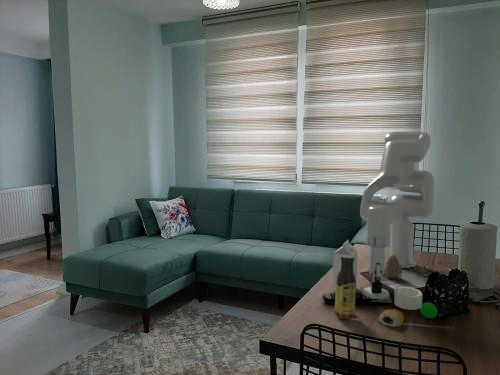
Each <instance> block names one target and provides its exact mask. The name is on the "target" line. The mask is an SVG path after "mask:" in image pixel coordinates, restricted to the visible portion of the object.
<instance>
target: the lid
mask: <svg viewBox="0 0 500 375" xmlns="http://www.w3.org/2000/svg"><path fill="white" fill-rule="evenodd" d="M375 276H376V275H375ZM370 279H371V285H370V286H367V287H363V288H364V289H363V295H365V296H367V297H369V298H372V299H378V300H385V299H387V298H388V297H389V294H390V291H389V290H388V289H386V290H385V288H382V293H372V281H373V274H372V276H371V275H370ZM387 290H388V291H389V292H388V291H387Z"/></svg>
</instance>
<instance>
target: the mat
mask: <svg viewBox="0 0 500 375" xmlns="http://www.w3.org/2000/svg"><path fill="white" fill-rule="evenodd" d="M359 288H360V295H361V294H363V289H364V288H365V287H359ZM373 302H374V303H386V304H387V303H388V304H393V301H392V297H391V295H390V293H389V297H388V298H387V299H385V300H372V301H371V303H373Z"/></svg>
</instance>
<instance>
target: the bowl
mask: <svg viewBox="0 0 500 375" xmlns="http://www.w3.org/2000/svg"><path fill="white" fill-rule="evenodd" d="M393 302H394V306H396V307H398V308H401V309H404V310H409V311H416V310H418V309H419V310H420V308H421V306H422V304H423V293H422V291H421V290H419V289H417V288H414V287H411V286H410V287H408V286H407V287H406V286H399V287H396V288H394V296H393Z"/></svg>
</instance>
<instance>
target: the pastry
mask: <svg viewBox="0 0 500 375" xmlns="http://www.w3.org/2000/svg"><path fill="white" fill-rule="evenodd" d="M404 319H405V314H404V313H403V311H400V310H398V309H397V308H394V309H392V308H391V309H385V310H384V311H382V312H381V313H380V314H379V317H378V319H377V320H378V323H380V324H382V325H384V326H388V327H391V328H399V327H401V326H402V325H403V323H404V321H405V320H404Z"/></svg>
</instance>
